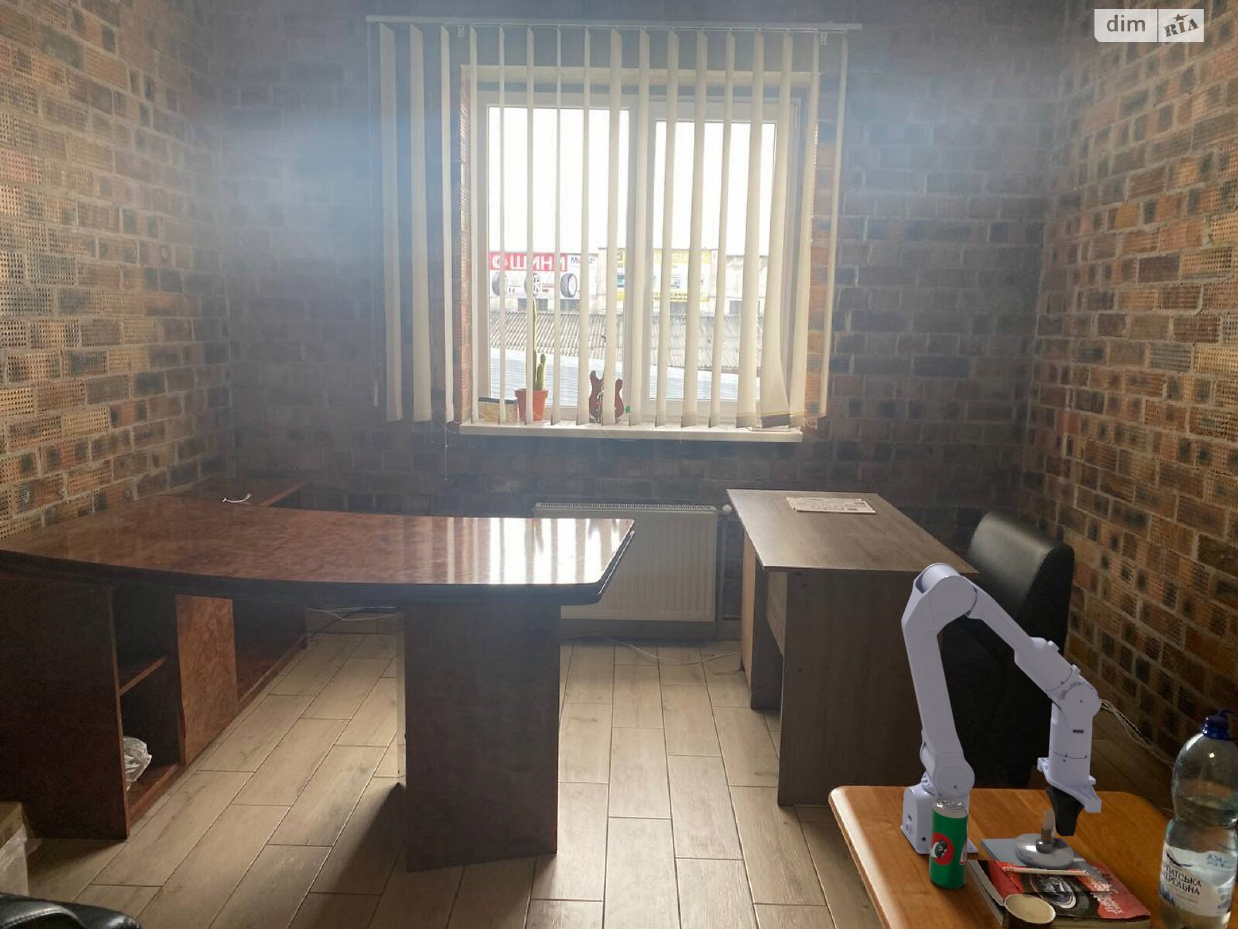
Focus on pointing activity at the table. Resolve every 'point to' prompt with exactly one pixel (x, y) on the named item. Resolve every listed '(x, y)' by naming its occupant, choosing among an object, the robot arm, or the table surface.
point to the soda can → (948, 842)
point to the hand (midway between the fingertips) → (1064, 834)
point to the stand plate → (1006, 853)
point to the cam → (1044, 847)
